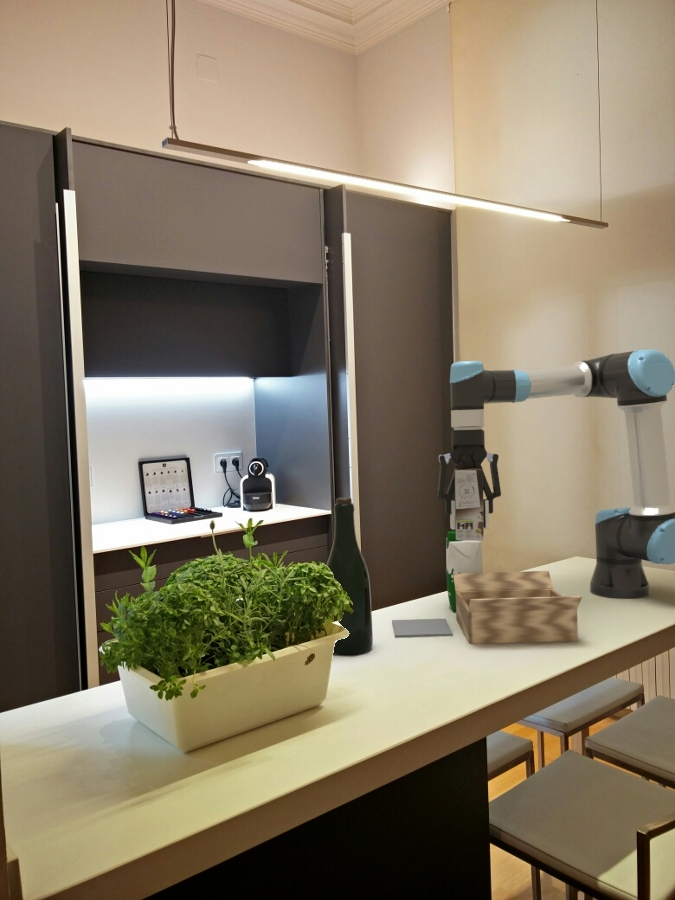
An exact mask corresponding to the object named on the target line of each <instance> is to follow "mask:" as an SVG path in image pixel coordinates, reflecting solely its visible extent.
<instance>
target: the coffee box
mask: <svg viewBox="0 0 675 900" xmlns="http://www.w3.org/2000/svg"><path fill="white" fill-rule="evenodd" d="M454 469H455V468H454ZM483 472H484V469H477V468H470V469H462V470H456V469H455V491H454V501H455V531H456V540H476V541H480V542H482V541H484V533H485V532H484V530H485V528H484V501H483V499H484V490H483Z"/></svg>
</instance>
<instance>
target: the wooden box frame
mask: <svg viewBox="0 0 675 900" xmlns="http://www.w3.org/2000/svg"><path fill="white" fill-rule="evenodd" d="M453 577H454V584H455V591H456V613H455V616H456V618H455V621H456V622H457V624H458V626H459V627H460V630H461V631H462V633H463V635H464V637H465V639H466V641H467V643H468V644H472V645H473V644H501V643H503V644H505V643H534V642H535V643H537V642H539V643H541V642H569V641H570V642H575V641H577V642H578V641H579V637H578V636H579V635H578V633H579V632H578V628H579V627H578V608H579V607H580V603H581V601H582V598H583V596H582V595H564V596H563V595H561V594H560V593H559V592H557V590H556V589H554V586H553V583H552V578H551V574H550V570H533V571H532V570H530V571H529V570H527V571H503V572H502V571H501V572H500V571H497V572H483V573H461V574H453Z"/></svg>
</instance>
